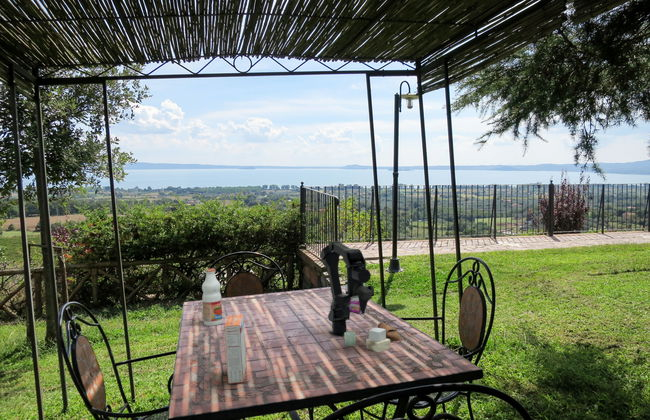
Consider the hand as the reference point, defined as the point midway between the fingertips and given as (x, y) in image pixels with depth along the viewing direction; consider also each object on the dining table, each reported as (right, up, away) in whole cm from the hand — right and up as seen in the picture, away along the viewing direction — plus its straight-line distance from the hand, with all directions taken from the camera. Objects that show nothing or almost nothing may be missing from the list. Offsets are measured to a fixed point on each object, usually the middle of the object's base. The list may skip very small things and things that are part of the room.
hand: (355, 316), depth 202 cm
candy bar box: (+4, -10, +53) cm, 54 cm away
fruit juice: (-70, -13, +42) cm, 83 cm away
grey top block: (+9, -9, -5) cm, 13 cm away
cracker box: (-45, -16, -28) cm, 55 cm away
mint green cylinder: (-2, -12, +2) cm, 13 cm away
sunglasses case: (+16, -12, +12) cm, 23 cm away
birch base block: (+9, -13, -5) cm, 16 cm away
